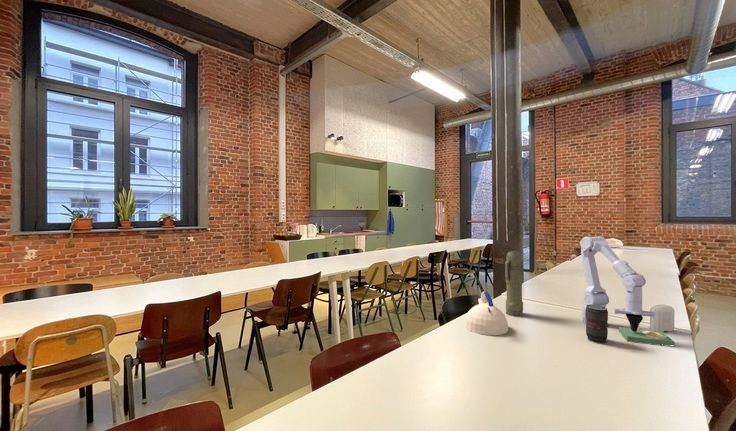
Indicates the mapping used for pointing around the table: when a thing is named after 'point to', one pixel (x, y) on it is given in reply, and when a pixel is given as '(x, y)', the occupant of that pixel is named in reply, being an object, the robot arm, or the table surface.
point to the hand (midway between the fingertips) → (633, 330)
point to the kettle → (486, 318)
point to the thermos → (514, 283)
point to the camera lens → (596, 323)
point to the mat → (645, 336)
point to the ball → (652, 334)
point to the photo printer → (662, 318)
